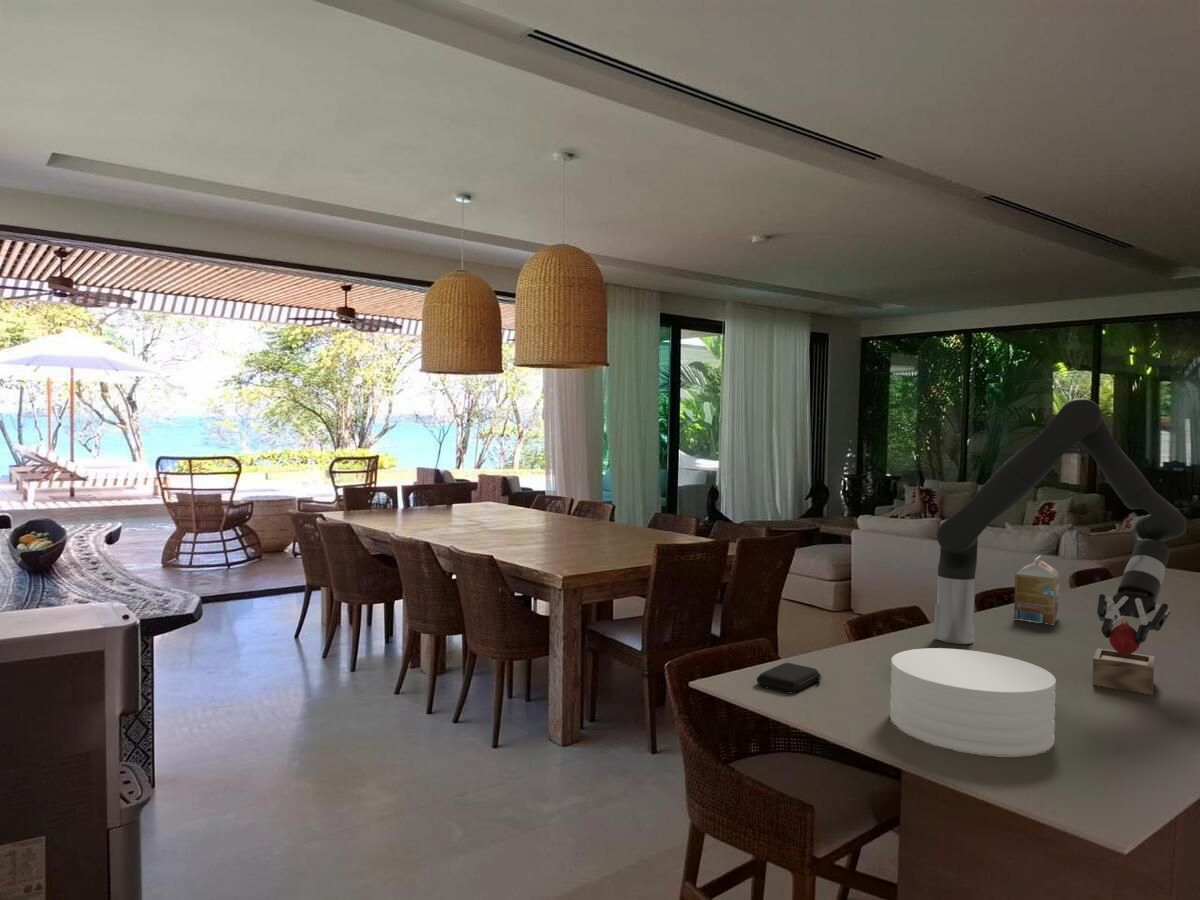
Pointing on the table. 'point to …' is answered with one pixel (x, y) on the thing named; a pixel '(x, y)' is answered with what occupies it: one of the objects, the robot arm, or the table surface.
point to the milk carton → (1037, 593)
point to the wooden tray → (1123, 671)
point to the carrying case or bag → (788, 677)
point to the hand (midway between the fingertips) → (1121, 638)
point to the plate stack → (973, 700)
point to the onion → (1124, 639)
